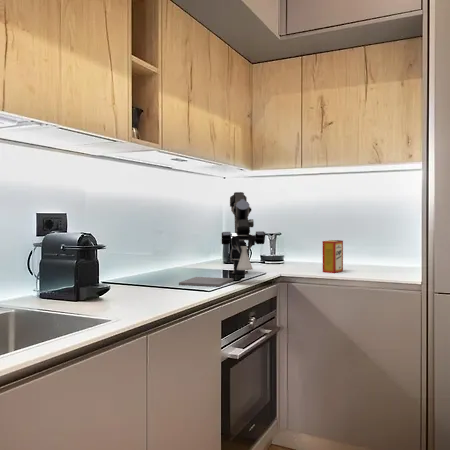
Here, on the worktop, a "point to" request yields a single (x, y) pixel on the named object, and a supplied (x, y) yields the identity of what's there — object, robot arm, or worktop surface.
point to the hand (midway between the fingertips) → (244, 252)
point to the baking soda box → (332, 256)
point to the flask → (244, 260)
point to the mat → (206, 281)
